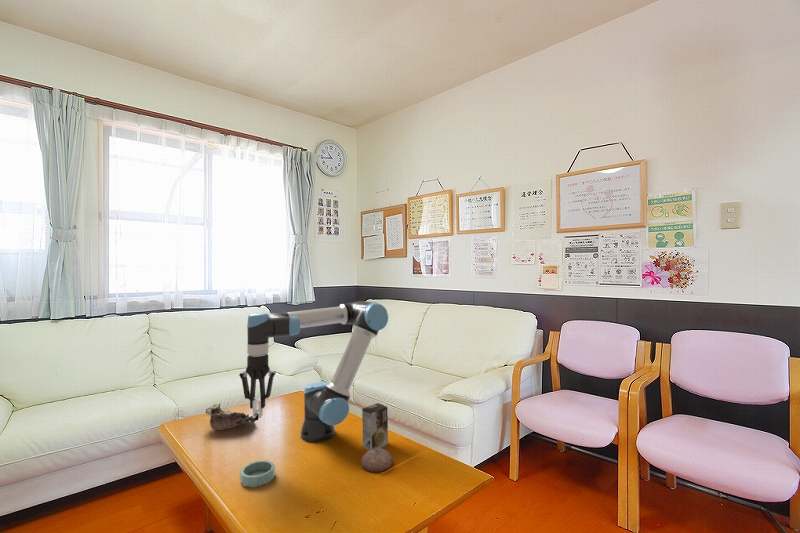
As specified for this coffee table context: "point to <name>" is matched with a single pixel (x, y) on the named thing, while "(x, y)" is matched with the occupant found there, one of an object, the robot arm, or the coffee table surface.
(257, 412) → the figurine
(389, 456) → the decorative stone
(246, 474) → the bowl
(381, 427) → the coffee box
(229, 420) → the rock
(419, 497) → the coffee table surface
